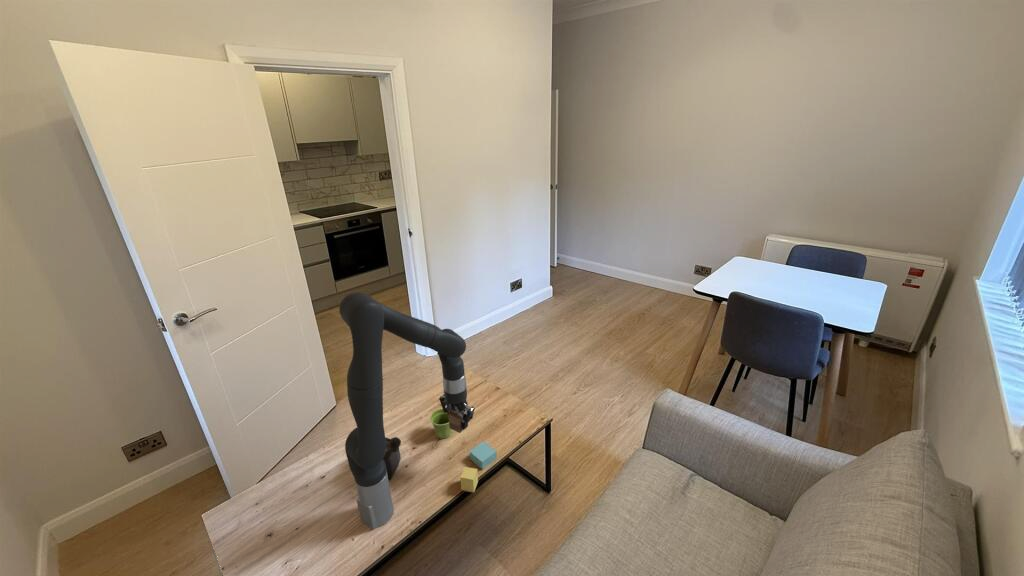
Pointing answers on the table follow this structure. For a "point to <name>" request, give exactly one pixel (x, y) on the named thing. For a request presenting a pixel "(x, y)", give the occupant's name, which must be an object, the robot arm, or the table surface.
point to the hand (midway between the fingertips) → (458, 425)
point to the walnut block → (455, 421)
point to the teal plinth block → (483, 455)
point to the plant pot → (441, 423)
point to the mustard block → (469, 479)
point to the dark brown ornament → (392, 455)
